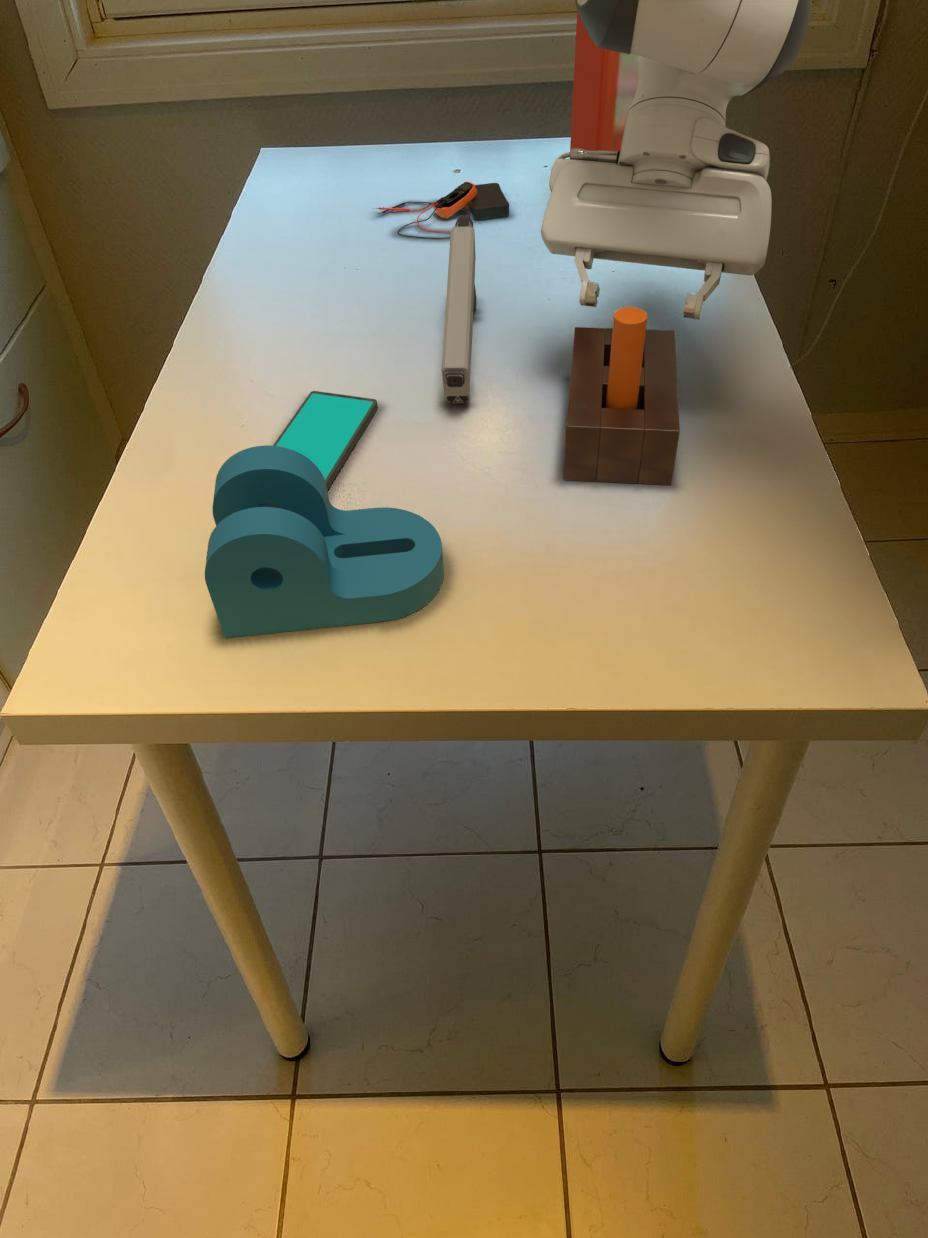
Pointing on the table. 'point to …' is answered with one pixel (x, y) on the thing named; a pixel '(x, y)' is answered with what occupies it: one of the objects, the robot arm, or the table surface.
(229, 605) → the camera mount
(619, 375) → the orange cylinder rod
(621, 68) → the file binder
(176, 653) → the table surface
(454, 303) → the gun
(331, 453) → the smartphone
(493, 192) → the multimeter
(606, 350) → the pen stand
